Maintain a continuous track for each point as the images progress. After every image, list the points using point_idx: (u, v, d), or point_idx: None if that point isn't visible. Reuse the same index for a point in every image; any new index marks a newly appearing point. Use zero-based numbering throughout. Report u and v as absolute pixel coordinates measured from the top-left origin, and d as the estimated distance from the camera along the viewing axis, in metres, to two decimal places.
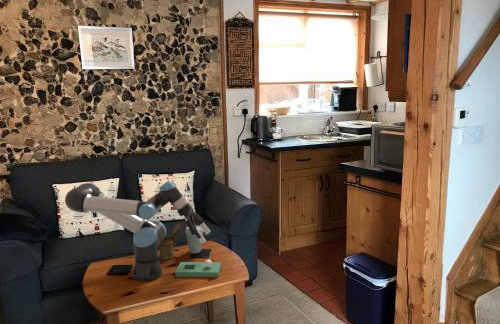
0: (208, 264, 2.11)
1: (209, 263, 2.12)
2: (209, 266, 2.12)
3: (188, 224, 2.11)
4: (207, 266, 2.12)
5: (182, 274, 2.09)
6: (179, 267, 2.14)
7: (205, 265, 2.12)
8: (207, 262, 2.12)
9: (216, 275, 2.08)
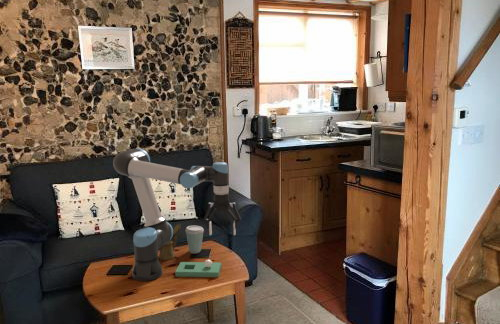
0: (208, 264, 2.11)
1: (209, 263, 2.12)
2: (209, 266, 2.12)
3: (207, 210, 2.09)
4: (207, 266, 2.12)
5: (182, 274, 2.09)
6: (179, 267, 2.14)
7: (205, 265, 2.12)
8: (207, 262, 2.12)
9: (216, 275, 2.08)
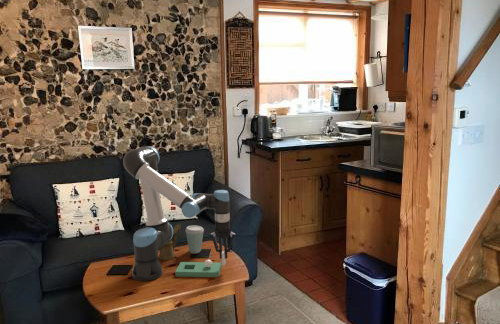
0: (208, 264, 2.11)
1: (209, 263, 2.12)
2: (209, 266, 2.12)
3: None
4: (207, 266, 2.12)
5: (182, 274, 2.09)
6: (179, 267, 2.14)
7: (205, 265, 2.12)
8: (207, 262, 2.12)
9: (216, 275, 2.08)
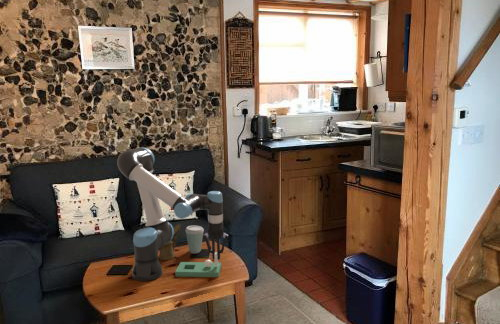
0: (208, 264, 2.11)
1: (209, 263, 2.12)
2: (209, 266, 2.12)
3: None
4: (207, 266, 2.12)
5: (182, 274, 2.09)
6: (179, 267, 2.14)
7: (205, 265, 2.12)
8: (207, 262, 2.12)
9: (216, 275, 2.08)
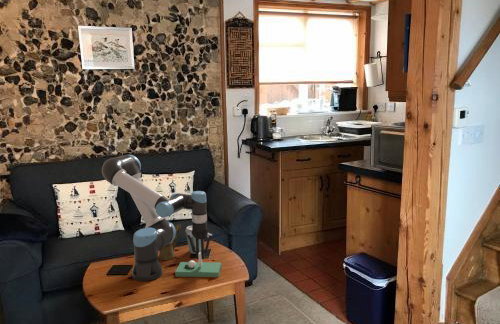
0: (191, 266, 2.12)
1: (192, 267, 2.13)
2: (189, 266, 2.12)
3: None
4: (189, 264, 2.12)
5: (182, 274, 2.09)
6: (179, 267, 2.14)
7: (191, 263, 2.12)
8: (193, 266, 2.12)
9: (216, 275, 2.08)
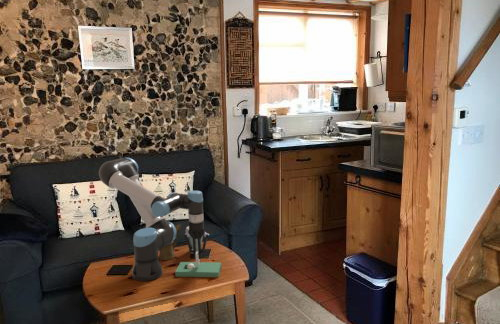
0: None
1: None
2: None
3: None
4: (188, 268, 2.12)
5: (182, 274, 2.09)
6: (179, 267, 2.14)
7: (188, 266, 2.13)
8: (192, 267, 2.13)
9: (216, 275, 2.08)
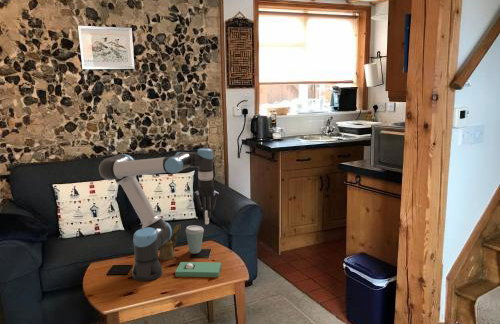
0: None
1: None
2: None
3: None
4: None
5: (182, 274, 2.09)
6: (179, 267, 2.14)
7: (187, 267, 2.13)
8: (190, 267, 2.13)
9: (216, 275, 2.08)
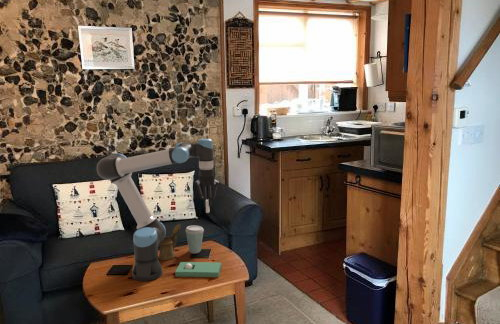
0: (188, 268, 2.12)
1: (190, 268, 2.13)
2: None
3: None
4: None
5: (182, 274, 2.09)
6: (179, 267, 2.14)
7: (185, 267, 2.13)
8: (189, 266, 2.13)
9: (216, 275, 2.08)
